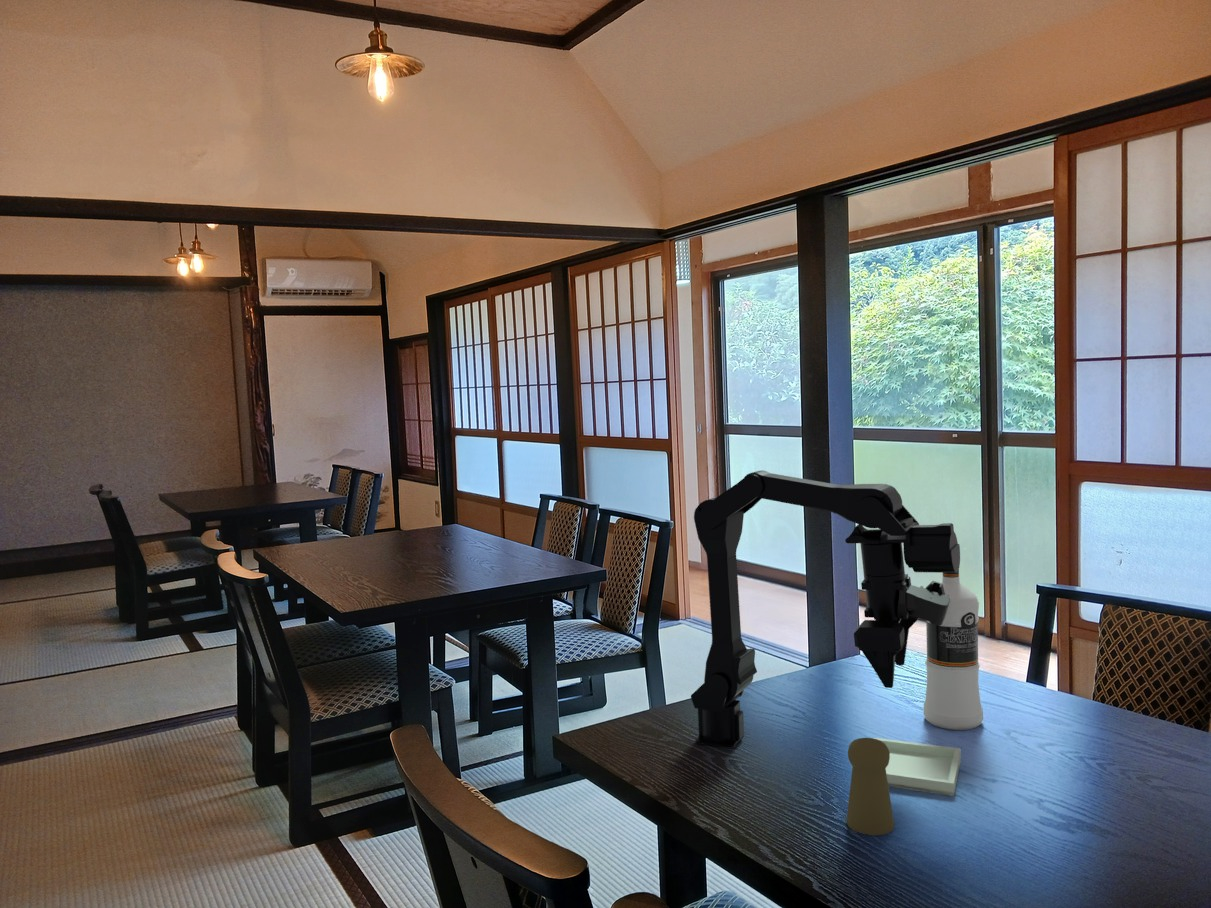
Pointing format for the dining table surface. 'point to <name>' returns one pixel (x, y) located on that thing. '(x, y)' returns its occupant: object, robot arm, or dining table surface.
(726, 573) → the robot arm
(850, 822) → the cork
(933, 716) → the vodka
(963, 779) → the dining table surface
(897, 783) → the tray
